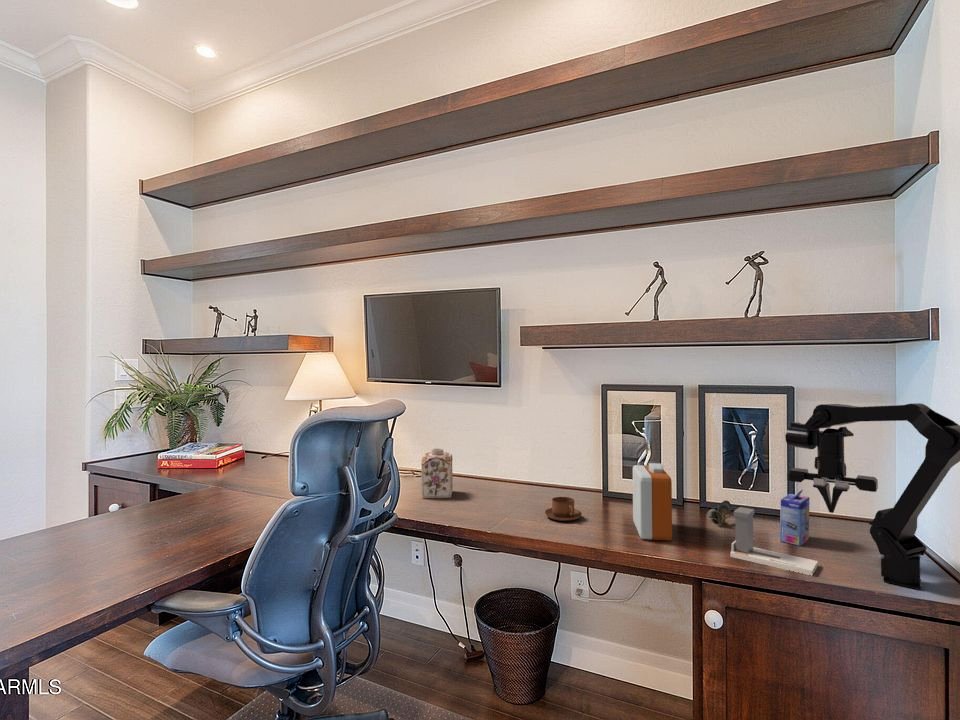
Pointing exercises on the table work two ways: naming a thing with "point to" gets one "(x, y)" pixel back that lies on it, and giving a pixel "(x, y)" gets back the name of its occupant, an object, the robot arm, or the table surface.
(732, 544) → the switch unit
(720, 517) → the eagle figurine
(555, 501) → the cup and saucer
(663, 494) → the alarm clock
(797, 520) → the ink cartridge box
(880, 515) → the robot arm
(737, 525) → the switch knob
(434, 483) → the decorative jar
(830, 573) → the table surface
